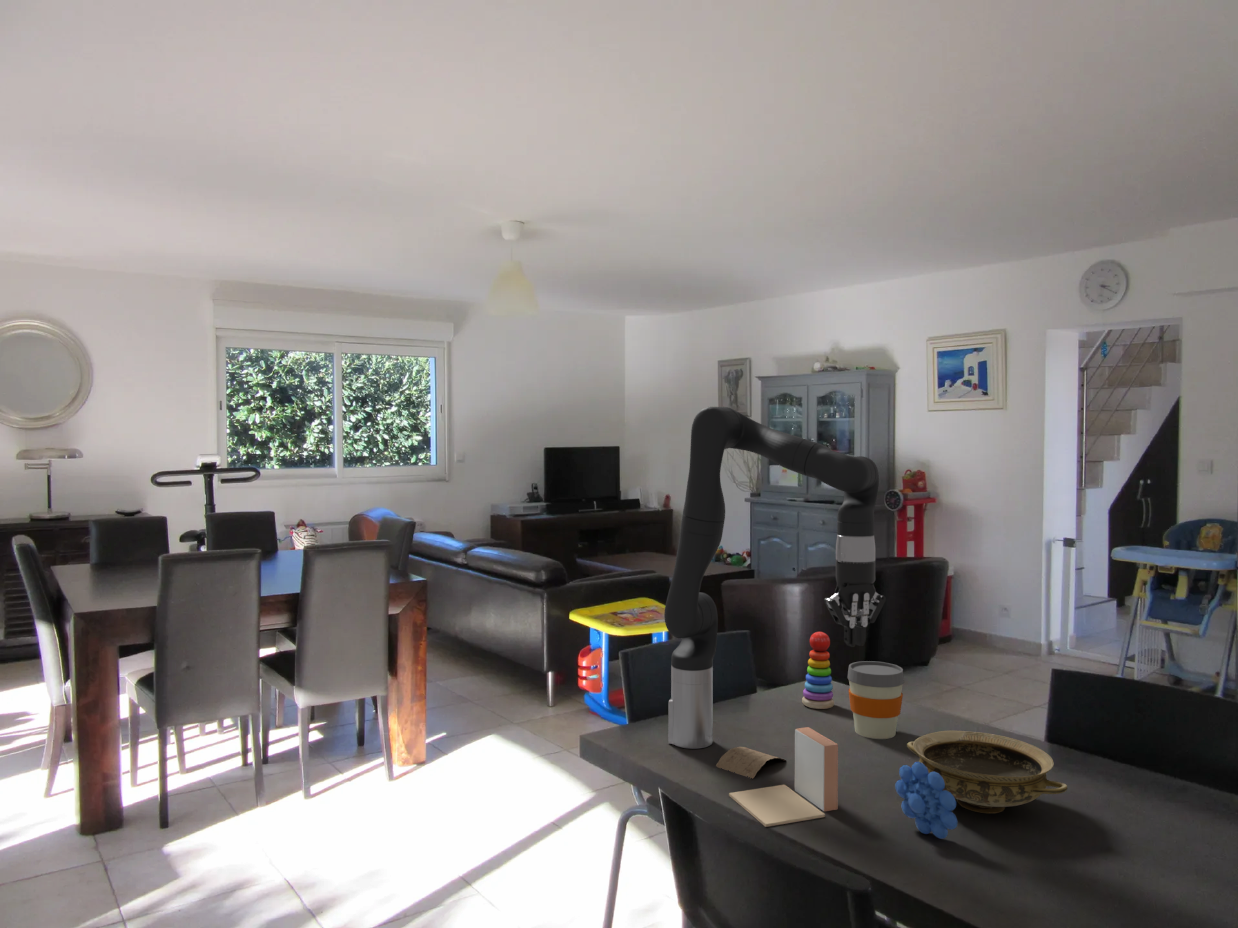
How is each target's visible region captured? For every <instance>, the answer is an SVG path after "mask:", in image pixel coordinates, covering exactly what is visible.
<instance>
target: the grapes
mask: <svg viewBox="0 0 1238 928" xmlns="http://www.w3.org/2000/svg"><path fill="white" fill-rule="evenodd" d="M898 774H899V777H900V779H898V780H897V781H896V782H895V784H894V788H895V792H896V794H897V795H898V796H899V797H900V798H902V799H903V801H901V805H900V807H901V811H902V812H903V814H904V815H905V816H906V817H907V818H909V819H914V824H915V826H916V829H917V830H918V831H919V832H920V833H921V834H924V835H929V834H931V833H932V834H933V836H935V838H938V839H941V840H943V839H945V838H946V837H948V836H949V835H948V833H949V830H955V829H956V828H957V827H958V818H957V816H956V814H955V813H954V812H953V811H954V810H955V809H956V807H957V799H956V798H955V797H954V796H953V795H952V794H951V793H950V792H949V791H946V790H944V791H942V790H943V789H944V787H945V783H944V780H943V778H942V776H941V775H940V774H939V773H937V772H935V771H934V772H930V773H929V772H928V769H927V767H926V766H925V765H924V764H923V763H921V762H919V761H914V763H913V764H912V765H911V766H909V765H908V764H903V765H902V766H901V767H899V770H898Z"/></svg>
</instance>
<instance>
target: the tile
mask: <svg viewBox="0 0 1238 928" xmlns="http://www.w3.org/2000/svg"><path fill="white" fill-rule="evenodd" d="M838 781H839V745H838V743H837V742H834V741H833V740H831V739H829V738H828V737H826V736H824V735H822V734H821V733H819V732H818V731H816V730H814V729H813V728H811V727H809V726H807V727H806V726H805V727H800V728H795V729H794V792H795V793H797V794H798V795H800V796H801V797H802V798H804V799H805V800H806V801H808V802H809V803H811V804H812V805H813V806H815V807H816V808H817V809H818V808H819V810H820V811H821V810H822V812H823V813H824V812H825V813H826V812H830V811H831V812H832V811H837V810H838V807H839V806H838V803H839V801H838V799H839V797H838V794H839V793H838V790H839V785H838V784H839V782H838Z"/></svg>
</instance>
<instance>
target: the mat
mask: <svg viewBox="0 0 1238 928" xmlns="http://www.w3.org/2000/svg"><path fill="white" fill-rule="evenodd" d="M728 797H730V798H731V799H732V800H733V801H734V802H736V803H737V804H738V805H740V807H742V808H743V809H744V810H745V811H747V813H749V815H751V816H752V817H754V818H755V819H756V820H757V821H758V822H759V823H760V824H761V825H763V827H766V828H768V827H774V826H779V825H784V824H785V825H786V824H791V823H797V822H802V821H809V820H814V819H815V820H816V819H820V818H825V817H826V814H825V813H824V811H821V809H820V808H819V809H818V807H817V806H816V805H814V804H813V803H811V802H810V801H809V800H807V799H806V798H805V797H803V796H802V795H800V794H799V793H798V792H796V791H795V790H792V789H791V787H788V786H787V785H786V784H778V785H773V786H766V787H760V788H753V789H746V790H740V791H735V792H729V793H728Z"/></svg>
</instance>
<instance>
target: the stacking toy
mask: <svg viewBox="0 0 1238 928" xmlns="http://www.w3.org/2000/svg"><path fill="white" fill-rule="evenodd" d="M809 645H810V647H811V648H812V650H810V651H809V655H808V656H809V657H810V658H809V659H808V660H807V665H808V666H807V669H806V671H807V674H805V680H806V681H805V682H804V689H803V691H802V696H803V697H802V698H801V702H802V704H803V706H806V707H808V708H810V709H815V710H816V709H817V710H828V709H831V708H833V707H834V705H835V700H834V698H833V697H834V693H833V691H832V690H833V688H834V687H833V683H832V681H833V677H832V676H831V674H832V669H831V667H830V666H831V663H830V660H829V659H830V655H831V654H830V652H829V651H827V650H828V649H829V647H830V645H831V639H830V637H829V635H828V634H827V633H825V632H823V631H816V632H813V633H812V634H811V635H810V638H809Z"/></svg>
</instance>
